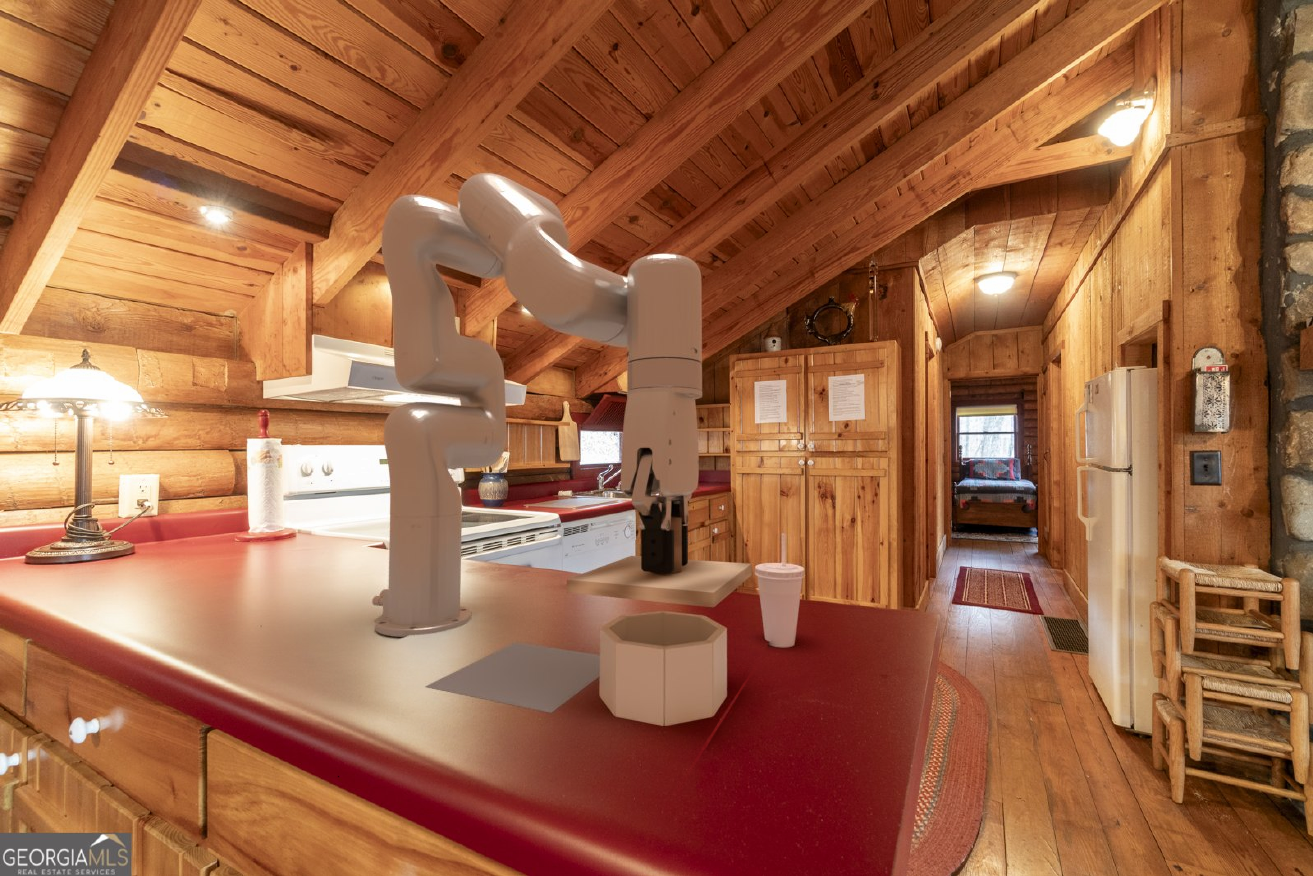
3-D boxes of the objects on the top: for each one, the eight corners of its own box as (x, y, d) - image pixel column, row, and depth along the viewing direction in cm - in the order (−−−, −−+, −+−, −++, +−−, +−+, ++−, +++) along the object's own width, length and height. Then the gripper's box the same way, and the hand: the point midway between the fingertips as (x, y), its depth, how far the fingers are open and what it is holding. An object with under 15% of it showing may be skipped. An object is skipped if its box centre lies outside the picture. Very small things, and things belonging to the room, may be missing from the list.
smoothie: (807, 652, 68) (806, 537, 69) (753, 649, 70) (753, 536, 70) (803, 636, 75) (803, 531, 75) (755, 633, 76) (755, 530, 76)
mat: (424, 691, 56) (424, 686, 57) (515, 646, 70) (515, 642, 70) (551, 718, 51) (551, 712, 51) (622, 663, 65) (622, 658, 65)
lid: (566, 592, 51) (567, 522, 51) (631, 566, 64) (631, 510, 64) (713, 607, 46) (713, 529, 46) (751, 575, 59) (750, 514, 59)
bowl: (581, 714, 52) (582, 638, 52) (634, 671, 62) (634, 607, 63) (701, 739, 47) (701, 655, 47) (735, 687, 58) (735, 619, 58)
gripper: (660, 394, 65) (660, 553, 64) (591, 373, 50) (591, 581, 49) (723, 390, 62) (724, 557, 61) (670, 367, 47) (671, 588, 46)
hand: (665, 566), depth 55 cm, fingers closed on lid, 3 cm apart
